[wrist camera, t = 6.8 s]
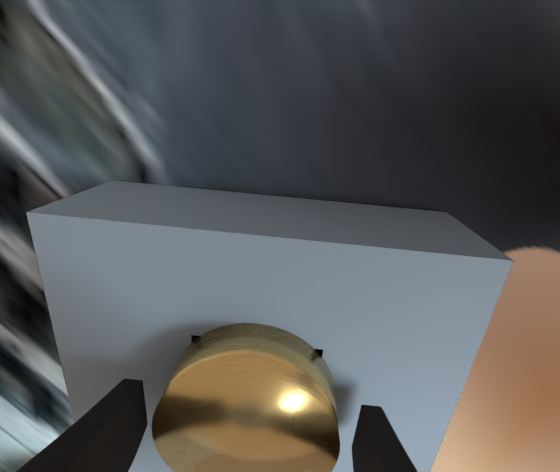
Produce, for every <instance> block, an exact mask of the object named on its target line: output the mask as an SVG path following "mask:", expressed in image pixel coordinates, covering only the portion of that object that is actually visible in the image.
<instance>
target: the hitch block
mask: <svg viewBox="0 0 560 472" xmlns="http://www.w3.org/2000/svg"><path fill="white" fill-rule="evenodd" d="M26 214H27V218H28V222H29V227H30V231H31V235H32V240H33V244H34V248H35V253H36V257H37V261H38V266H39V270H40V274H41V279H42V283H43V287H44V292H45V296H46V301H47V305H48V309H49V314H50V318H51V322H52V327H53V331H54V335H55V340H56V344H57V348H58V353H59V357H60V361H61V366H62V370H63V374H64V379H65V383H66V387H67V392H68V396H69V400H70V405H71V409H72V413H73V418H74V422H76V421H77V420H79V419H80V418H81V417H82V416H83V415H84V414H85V413H87V412H88V411H89V410H90V409H91V408H92V407H93V406H94V405H95V404H97V403H98V402H99V401H100V400H101V399H102V398H103V397H104V396H105V395H106V394H108V393H109V392H110V391H111V390H112V389H113V388H114V387H115V386H116V385H117V384H119V383H120V382H121V381H122V380H123V379H135V380H143V388H144V397H145V405H146V413H147V422H148V425H147V428H146V430H145V433H144V436H143V438H142V441H141V444H140V446H139V449H138V451H137V454H136V456H135V459H134V461H133V463H132V465H131V467H130V469H129V471H128V472H173V471H172V470H171V469H170V468H169V467H168V466H167V464H166V463H165V462H164V461H163V459H162V458H161V456H160V454H159V453H158V451H157V449H156V447H155V444H154V441H153V437H152V427H151V426H152V418H153V415H154V412H155V409H156V407H157V405H158V403H159V401H160V399H161V397H162V395H163V393H164V391H165V389H166V387H167V384H168V382H169V380H170V378H171V376H172V374H173V372H174V370H175V368H176V366H177V364H178V362H179V360H180V358H181V356H182V355H183V353H184V351H185V350H186V349H187V347H188V346H189V345H190V344H191V343H192V342H193V341H194V340H195V339H197V338H198V337H200V336H201V335H203V334H204V333H206V332H209V331H211V330H213V329H216V328H219V327H222V326H226V325H231V324H240V323H256V324H264V325H269V326H273V327H277V328H280V329H283V330H286V331H288V332H290V333H292V334H294V335H296V336H298V337H300V338H301V339H303V340H304V341H306V342H307V343H309V344H310V345H311V346H312V347H313V348H315V349H316V351H317V352H318V353H319V354H320V355H321V356H322V357H323V359H324V360H325V362H326V363H327V365H328V367H329V369H330V371H331V375H332V378H333V384H334V392H335V402H336V411H337V420H338V429H339V438H340V453H339V457H338V460H337V463H336V465H335V467H334V469H333V470H332V472H353V460H352V443H353V439H354V435H355V430H356V426H357V422H358V417H359V413H360V409H361V404H362V405H371V406H380V407H381V408H382V409H383V410H384V412H385V414H386V416H387V418H388V420H389V422H390V424H391V425H392V427H393V429H394V431H395V433H396V435H397V437H398V438H399V440H400V442H401V444H402V445H403V447H404V449H405V451H406V452H407V454H408V456H409V458H410V459H411V461H412V463H413V464H414V466H415V468H416V469H417V471H418V472H430V471H431V468H432V466H433V463H434V461H435V458H436V456H437V453H438V451H439V448H440V446H441V443H442V441H443V438H444V436H445V433H446V430H447V428H448V425H449V423H450V420H451V418H452V415H453V413H454V410H455V408H456V405H457V402H458V400H459V398H460V395H461V393H462V390H463V387H464V385H465V382H466V380H467V377H468V375H469V372H470V370H471V367H472V365H473V362H474V360H475V357H476V355H477V352H478V350H479V347H480V345H481V342H482V339H483V337H484V334H485V332H486V329H487V327H488V324H489V322H490V319H491V317H492V314H493V312H494V309H495V307H496V304H497V302H498V299H499V296H500V294H501V291H502V289H503V286H504V284H505V281H506V279H507V276H508V274H509V271H510V269H511V266H512V264H513V260H512V259H511V258H509V257H508V256H506V255H505V254H504V253H502V252H501V251H500V250H498V249H497V248H495V247H494V246H493V245H491V244H490V243H488V242H487V241H486V240H484V239H483V238H482V237H480V236H479V235H477V234H476V233H475V232H473V231H472V230H470V229H469V228H468V227H466V226H465V225H464V224H462V223H461V222H459V221H458V220H457V219H455V218H454V217H453V216H451V215H450V214H448V213H447V212H440V211H430V210H419V209H409V208H398V207H388V206H377V205H367V204H356V203H346V202H335V201H325V200H314V199H304V198H293V197H283V196H272V195H262V194H251V193H241V192H230V191H220V190H209V189H199V188H188V187H177V186H167V185H156V184H146V183H135V182H125V181H114V180H111V181H108V182H106V183H103V184H100V185H98V186H95V187H92V188H90V189H87V190H84V191H82V192H79V193H76V194H74V195H71V196H68V197H66V198H63V199H60V200H58V201H55V202H52V203H50V204H47V205H44V206H42V207H39V208H36V209H34V210H31V211H28V212H26Z"/></svg>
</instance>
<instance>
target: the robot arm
mask: <svg viewBox="0 0 560 472" xmlns="http://www.w3.org/2000/svg"><path fill="white" fill-rule="evenodd" d="M147 425H148V422H147V413H146V405H145V397H144V388H143V380H135V379H123V380H122V381H121V382H120V383H119V384H117V385H116V386H115V387H114V388H113V389H112V390H111V391H110V392H109V393H108V394H106V395H105V396H104V397H103V398H102V399H101V400H100V401H99V402H98V403H97V404H95V405H94V406H93V407H92V408H91V409H90V410H89V411H88V412H87V413H85V414H84V415H83V416H82V417H81V418H80V419H79V420H77V421H76V422H75V423H74V424H73V425H72V426H71V427H69V428H68V429H67V430H66V431H65V432H64V433H62V434H61V435H60V436H59V437H58V438H57V439H56V440H54V441H53V442H52V443H51V444H50V445H48V446H47V447H46V448H45V449H43V450H42V451H41V452H40V453H38V454H37V455H36V456H35V457H34V458H32V459H31V460H30V461H29V462H27V463H26V464H25V465H24V466H22V467H21V468H20V469H19V470H17V471H16V472H128V471H129V469H130V467H131V465H132V463H133V461H134V459H135V456H136V454H137V451H138V449H139V446H140V444H141V441H142V438H143V436H144V433H145V430H146V428H147ZM352 460H353V472H418V471H417V469H416V468H415V466H414V464H413V463H412V461H411V459H410V458H409V456H408V454H407V452H406V451H405V449H404V447H403V445H402V444H401V442H400V440H399V438H398V437H397V435H396V433H395V431H394V429H393V427H392V425H391V424H390V422H389V420H388V418H387V416H386V414H385V412H384V410H383V409H382V408H381V407H380V406H371V405H362V404H361V409H360V413H359V417H358V422H357V426H356V430H355V435H354V439H353V443H352Z"/></svg>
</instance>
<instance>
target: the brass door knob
mask: <svg viewBox="0 0 560 472" xmlns="http://www.w3.org/2000/svg"><path fill="white" fill-rule="evenodd" d="M151 427H152V437H153V441H154V444H155V447H156V449H157V451H158V453H159V454H160V456H161V458H162V459H163V461H164V462H165V463H166V464H167V466H168V467H169V468H170V469H171V470H172V471H173V472H332V470H333V469H334V467H335V465H336V463H337V460H338V457H339V453H340V438H339V429H338V420H337V411H336V402H335V392H334V384H333V378H332V375H331V371H330V369H329V367H328V365H327V363H326V362H325V360H324V359H323V357H322V356H321V355H320V354H319V353H318V352H317V351H316V349H315V348H313V347H312V346H311V345H310V344H309V343H307V342H306V341H304V340H303V339H301V338H300V337H298V336H296V335H294V334H292V333H290V332H288V331H286V330H283V329H280V328H277V327H273V326H269V325H264V324H256V323H240V324H231V325H226V326H222V327H219V328H216V329H213V330H211V331H209V332H206V333H204V334H203V335H201V336H200V337H198V338H197V339H195V340H194V341H193V342H192V343H191V344H190V345H189V346H188V347H187V349H186V350H185V351H184V353H183V355H182V356H181V358H180V360H179V362H178V364H177V366H176V368H175V370H174V372H173V374H172V376H171V378H170V380H169V382H168V384H167V387H166V389H165V391H164V393H163V395H162V397H161V399H160V401H159V403H158V405H157V407H156V409H155V412H154V415H153V418H152V426H151Z"/></svg>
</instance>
